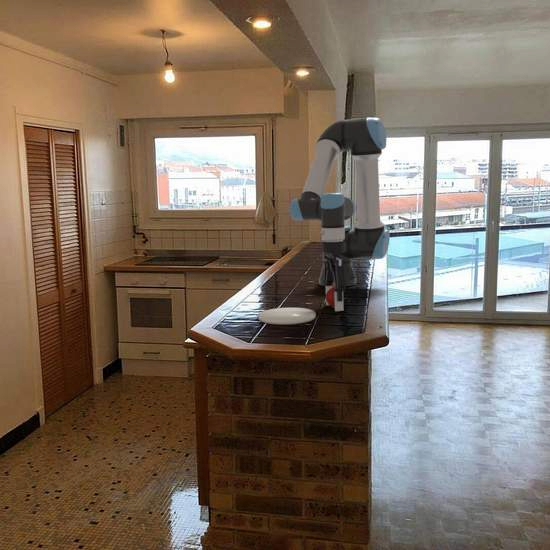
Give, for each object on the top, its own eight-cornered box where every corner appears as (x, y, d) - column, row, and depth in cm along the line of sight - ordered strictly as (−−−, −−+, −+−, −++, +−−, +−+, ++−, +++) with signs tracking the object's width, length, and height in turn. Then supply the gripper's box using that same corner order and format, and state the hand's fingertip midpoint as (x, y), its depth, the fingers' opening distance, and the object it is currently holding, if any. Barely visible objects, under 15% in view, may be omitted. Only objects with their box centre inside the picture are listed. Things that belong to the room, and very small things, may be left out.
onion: (332, 305, 202) (332, 282, 201) (346, 307, 198) (346, 284, 197) (322, 309, 198) (322, 285, 196) (337, 310, 194) (336, 286, 193)
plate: (307, 309, 198) (307, 305, 198) (322, 321, 181) (322, 317, 181) (254, 313, 195) (253, 310, 194) (264, 326, 177) (264, 322, 177)
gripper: (313, 238, 204) (314, 302, 208) (332, 244, 183) (333, 315, 187) (334, 237, 206) (335, 300, 209) (355, 242, 185) (356, 313, 188)
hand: (334, 307), depth 198 cm, fingers open, 9 cm apart
